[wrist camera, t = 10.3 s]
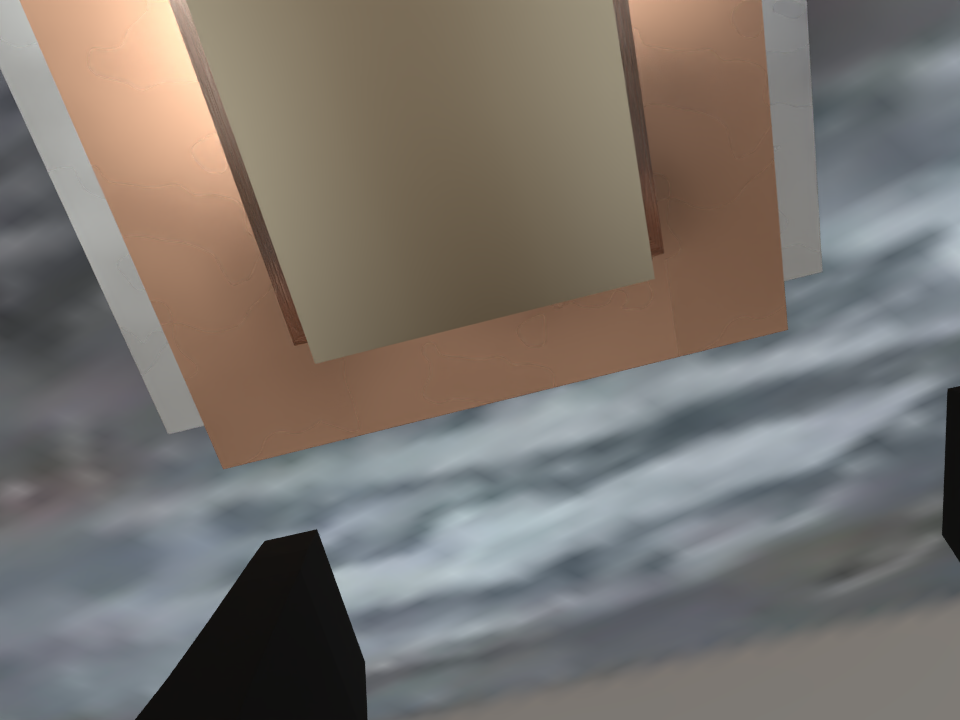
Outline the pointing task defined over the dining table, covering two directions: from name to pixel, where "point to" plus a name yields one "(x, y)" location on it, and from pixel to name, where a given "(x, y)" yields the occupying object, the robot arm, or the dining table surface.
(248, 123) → the birch block
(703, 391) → the dining table surface
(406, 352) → the orange-brown socket block
